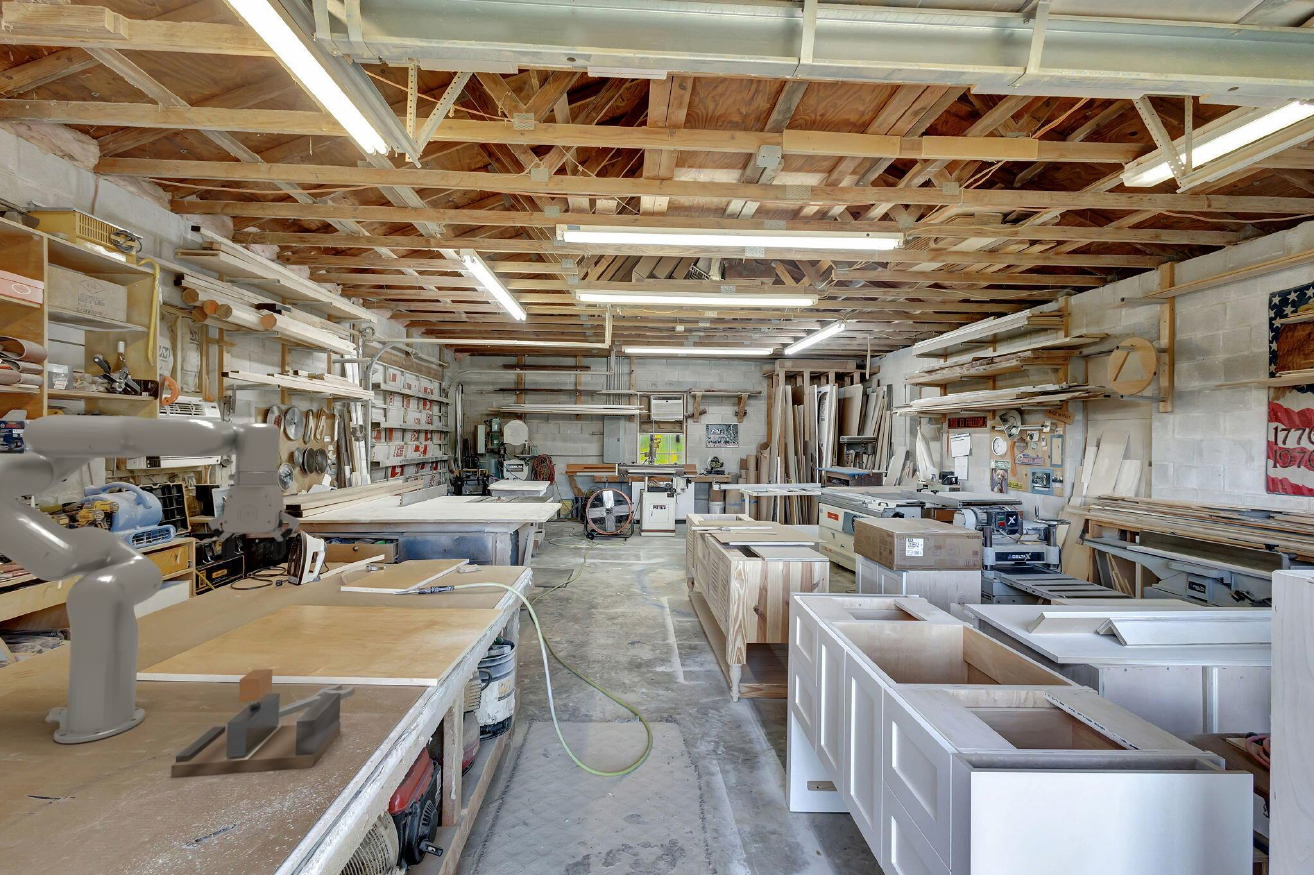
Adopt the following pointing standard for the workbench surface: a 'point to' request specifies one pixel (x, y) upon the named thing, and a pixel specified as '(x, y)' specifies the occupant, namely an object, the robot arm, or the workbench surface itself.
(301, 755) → the bench vise
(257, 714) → the sliding jaw
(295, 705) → the adjustable wrench
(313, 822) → the workbench surface
